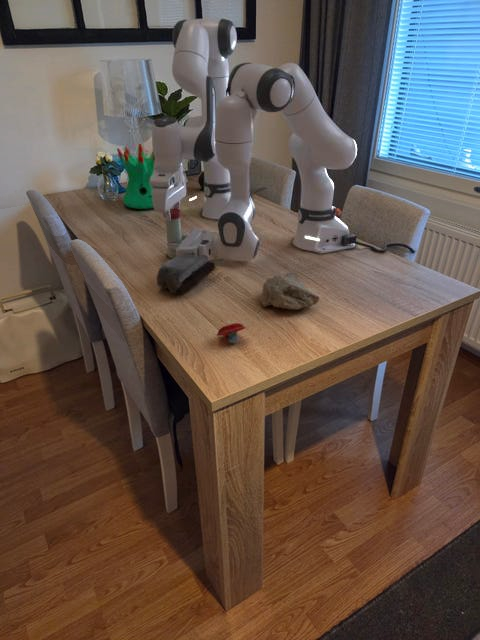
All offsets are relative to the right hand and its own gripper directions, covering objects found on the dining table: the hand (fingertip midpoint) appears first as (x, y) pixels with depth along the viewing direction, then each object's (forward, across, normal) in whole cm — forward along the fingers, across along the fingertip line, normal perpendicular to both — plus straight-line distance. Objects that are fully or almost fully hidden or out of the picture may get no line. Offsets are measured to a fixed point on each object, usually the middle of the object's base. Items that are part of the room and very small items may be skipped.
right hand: (172, 241), depth 152 cm
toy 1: (+32, -52, +5) cm, 61 cm away
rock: (-12, +20, +5) cm, 24 cm away
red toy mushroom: (-32, +47, +5) cm, 57 cm away
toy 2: (+8, -83, +5) cm, 83 cm away
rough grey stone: (-42, +24, +5) cm, 49 cm away
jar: (-1, 0, +5) cm, 5 cm away
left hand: (-1, 0, -9) cm, 9 cm away
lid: (-1, 0, -10) cm, 10 cm away
